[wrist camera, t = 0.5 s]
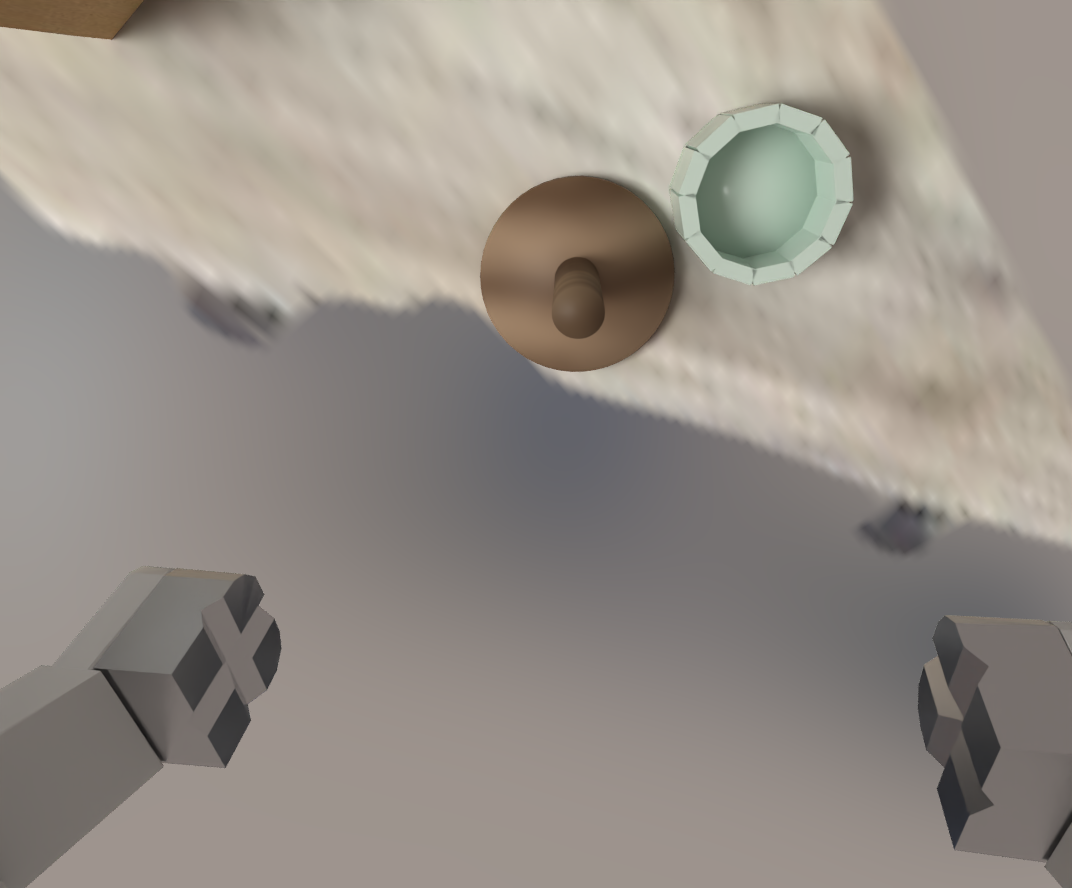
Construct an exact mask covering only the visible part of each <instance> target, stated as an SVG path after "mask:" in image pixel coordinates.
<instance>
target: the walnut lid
mask: <svg viewBox="0 0 1072 888" xmlns="http://www.w3.org/2000/svg"><path fill="white" fill-rule="evenodd" d="M480 278H481V290H482V295H483V300H484V303H485V306H486V309H487V312H488V314H489V317H490V319H491V321H492V323H493V324H494V326H495V327H496V329H497V331H498V332H499V334H500V335H501V336H502V337H503V338H504V339H505V341H506V342H507V343H508V344H509V345H510V346H511V347H513V348H514V349H515V350H516V351H517V352H519V353H520V354H521V355H523V356H524V357H526V358H527V359H529V360H531V361H533V362H535V363H537V364H540V365H542V366H545V367H548V368H552V369H556V370H561V371H570V372H582V371H591V370H597V369H600V368H604V367H608V366H610V365H613V364H615V363H617V362H620V361H621V360H623V359H625V358H627V357H628V356H630V355H631V354H633V353H634V352H635V351H637V350H638V349H639V348H640V347H641V346H643V345H644V344H645V343H646V342H647V341H648V340H649V339H650V337H651V336H652V335H653V334H654V332H655V331H656V330H657V328H658V327H659V325H660V323H661V322H662V320H663V318H664V316H665V314H666V312H667V309H668V307H669V303H670V300H671V297H672V292H673V286H674V260H673V254H672V250H671V246H670V243H669V240H668V237H667V235H666V232H665V231H664V229H663V227H662V225H661V223H660V221H659V220H658V219H657V217H656V216H655V215H654V213H653V212H652V211H651V209H650V208H649V207H648V206H647V205H646V204H645V203H644V202H643V201H642V200H641V199H640V198H638V197H637V196H636V195H635V194H633V193H632V192H630V191H629V190H627V189H625V188H624V187H622V186H620V185H618V184H615V183H613V182H610V181H608V180H604V179H600V178H596V177H587V176H569V177H563V178H557V179H553V180H550V181H547V182H544V183H542V184H540V185H537V186H535V187H533V188H531V189H530V190H528V191H527V192H525V193H524V194H522V195H521V196H519V197H518V198H517V199H516V200H515V201H514V202H512V203H511V204H510V205H509V207H508V208H507V209H506V210H505V211H504V212H503V213H502V215H501V216H500V218H499V219H498V221H497V222H496V224H495V225H494V227H493V229H492V231H491V233H490V235H489V237H488V239H487V242H486V245H485V248H484V252H483V256H482V261H481V273H480Z"/></svg>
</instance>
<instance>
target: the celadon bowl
mask: <svg viewBox="0 0 1072 888" xmlns="http://www.w3.org/2000/svg"><path fill="white" fill-rule="evenodd" d="M686 146H687V147H688V148H686V147H684V148H683V150H682V153H681V156H680V159H679V161H678V164H677V167H676V170H675V172H674V175H673V178H672V181H671V183H670V187H671V188H672V189H669V191H670V198H671V205H672V211H673V218H674V224H675V228H676V229H677V230H676V231H677V232H678V233H679V234H680V235H681V237H682V238H683V239H684V240H685V241H686V243H687V244H688V245H689V246H690V248H691V249H692V250H693V251H694V252H695V254H696V255H697V256H698V257H699V258H700V259H701V261H702V262H703V263H704V264H705V265H706V266H707V268H708V269H709V270H710V271H712V272H713V273H714V274H717V275H720V276H723V277H726V278H729V279H733V280H736V281H739V282H742V283H745V284H748V285H751V284H753V285H759V284H763V283H768V282H773V281H777V280H782V279H787V278H791V277H795V274H796V275H799V274H800V273H801V272H802V271H804V270H805V269H806V268H807V267H809V266H810V265H811V264H812V263H813V262H815V261H816V260H817V259H818V258H820V257H821V256H822V255H823V254H825V253H826V252H827V251H828V250H829V249H831V248H832V247H831V246H830V244H832V245H834V244H835V242H836V239H837V237H838V235H839V233H840V231H841V229H842V226H843V224H844V222H845V220H846V218H847V216H848V213H849V211H850V209H851V207H852V205H853V204H852V203H849V202H851V201H853V184H852V167H851V157H849V156H848V155H849V154H850V153H849V152H848V151H847V149H846V148H845V147H844V145H843V144H842V142H841V141H840V140H839V138H838V137H837V135H836V134H835V133H834V131H833V130H832V129H831V127H830V126H829V124H828V123H827V122H826V120H825V119H822V117H819V116H816V115H813V114H810V113H807V112H805V111H802V110H799V109H796V108H793V107H790V106H787V105H784V104H779V103H778V104H757V105H753V106H749V107H745V108H741V109H736V110H732V111H728V112H724V113H720V115H717V116H715V117H714V118H713V119H712V120H711V121H710V122H709V123H708V124H707V125H706V126H705V127H704V128H702V129H701V130H700V131H699V132H698V133H697V134H696V135H695V136H694V137H693V138H692V139H691V140H689V141H688V142H687V143H686ZM794 273H795V274H794Z"/></svg>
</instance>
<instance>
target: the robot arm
mask: <svg viewBox="0 0 1072 888" xmlns="http://www.w3.org/2000/svg"><path fill="white" fill-rule="evenodd" d="M263 596H264V593H263V591H262V589H261V587H260V585H259V583H258V581H257V579H256V577H255V576H250V575H246V574H236V573H225V572H214V571H203V570H192V569H180V568H176V569H175V568H162V567H150V566H142V567H140V568H138V569H136V570H134V571H132V572H130V573H129V574H128V575H127V576H126V578H125V579H124V580H123V581H122V583H121V584H120V585H119V586H118V587H117V588H116V590H115V591H114V592H113V593H112V594H111V596H110V597H109V598H108V599H107V601H106V602H105V603H104V604H103V605H102V606H101V608H100V609H99V610H98V611H97V612H96V614H95V615H94V616H93V617H92V618H91V620H90V621H89V622H88V623H87V624H86V626H85V627H84V628H83V629H82V630H81V632H80V633H79V634H78V635H77V637H76V638H75V639H74V640H73V641H72V642H71V644H70V645H69V646H68V647H67V648H66V650H65V651H64V652H63V653H62V655H61V656H60V657H59V658H58V659H57V661H56V662H55V663H54V664H53V665H52V666H42V665H41V666H39V667H37V668H36V669H34V670H32V671H31V672H29V673H27V674H25V675H24V676H22V677H20V678H19V679H17V680H15V681H13V682H12V683H10V684H9V685H7V686H5V687H3V688H1V689H0V888H25V887H27V886H28V885H29V884H30V883H31V882H32V881H33V880H35V878H37V877H38V876H39V875H40V874H41V873H43V872H44V871H45V870H46V869H47V868H48V867H49V866H51V865H52V864H53V863H54V862H55V861H56V860H57V859H59V858H60V857H61V856H62V855H63V854H64V853H66V852H67V851H68V850H69V849H70V848H71V847H72V846H74V845H75V844H76V843H77V842H78V841H79V840H80V839H82V838H83V837H84V836H85V835H86V834H87V833H88V832H90V831H91V830H92V829H93V828H94V827H95V826H96V825H98V824H99V823H100V822H101V821H102V820H103V819H104V818H105V817H107V816H108V815H109V814H110V813H111V812H112V811H114V810H115V809H116V808H117V807H118V806H119V805H120V804H122V803H123V802H124V801H125V800H126V799H127V798H128V797H130V796H131V795H132V794H133V793H134V792H135V791H137V790H138V789H139V788H140V787H141V786H142V785H143V784H144V783H146V782H147V781H148V780H149V779H150V778H151V777H153V776H154V775H155V774H156V773H157V772H158V771H159V770H160V769H162V768H163V764H162V763H171V764H183V765H195V766H207V767H219V768H226V766H227V764H228V762H229V761H230V759H231V757H232V755H233V753H234V751H235V749H236V747H237V746H238V743H239V742H240V740H241V738H242V736H243V734H244V733H245V731H246V729H247V727H248V725H249V723H250V721H251V718H250V713H249V708H248V704H249V703H250V702H252V701H253V700H254V699H256V698H257V697H258V696H259V695H261V694H262V693H264V692H265V691H266V690H267V689H268V687H269V685H270V683H271V681H272V679H273V677H274V675H275V673H276V671H277V667H278V662H279V657H280V653H281V639H280V631H279V629H278V626H277V624H276V621H275V619H274V618H273V617H272V616H271V615H269V614H268V613H267V612H266V611H264V610H263V609H262V608H261V607H260V606H259V604H260V602H261V600H262V598H263ZM933 642H934V645H935V648H936V651H937V654H938V656H937V657H935V658H934V659H932V660H931V661H929V662H927V663H926V664H924V666H923V670H922V674H921V677H920V681H919V685H918V714H919V721H920V728H921V732H922V736H923V740H924V743H925V748H926V750H927V751H928V752H929V753H930V754H931V755H932V756H933V757H934V758H935V759H936V760H937V761H938V762H939V763H940V764H941V765H942V766H943V767H944V770H943V773H942V776H941V779H940V781H939V784H938V786H937V791H938V795H939V798H940V802H941V805H942V809H943V812H944V816H945V820H946V823H947V827H948V830H949V834H950V837H951V840H952V844H953V848H954V850H958V851H965V852H973V853H980V854H987V855H994V856H1002V857H1009V858H1017V859H1023V860H1031V861H1038V862H1046V865H1045V868H1046V869H1047V870H1048V871H1049V873H1050V874H1051V875H1052V876H1053V877H1054V878H1055V880H1056V881H1057V882H1058V883H1059V884H1060V885H1061V886H1062V888H1072V622H1061V621H1047V622H1045V621H1043V620H1030V619H1011V618H991V617H971V616H950V615H945V616H944V617H943V618H942V619H941V620H940V621H939V622H938V624H937V626H936V629H935V632H934V635H933Z"/></svg>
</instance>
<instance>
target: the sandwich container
mask: <svg viewBox="0 0 1072 888" xmlns="http://www.w3.org/2000/svg"><path fill="white" fill-rule="evenodd" d="M143 1H144V0H0V27H8V28H16V29H24V30H32V31H40V32H48V33H56V34H65V35H73V36H83V37H92V38H102V39H111V40H112V39H113V37H114V36H115V35H116V34H117V32H118V31H119V30H120V29H121V28H122V26H123V25H124V24H125V23H126V22H127V20H128V19H129V18H130V17H131V16H132V14H133V13H134V12H135V11H136V9H137V8H138V7H139V6H140V5H141V3H142V2H143Z"/></svg>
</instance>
